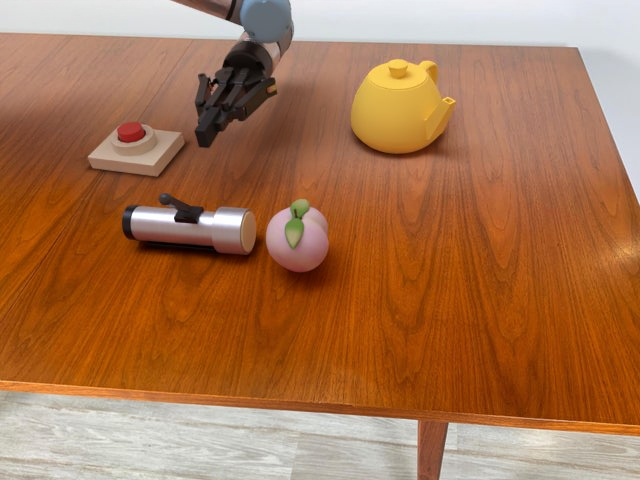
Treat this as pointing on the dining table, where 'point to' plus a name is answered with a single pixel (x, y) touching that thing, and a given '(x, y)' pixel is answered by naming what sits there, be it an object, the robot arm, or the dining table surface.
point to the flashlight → (192, 228)
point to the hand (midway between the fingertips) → (201, 139)
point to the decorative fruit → (298, 237)
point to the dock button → (130, 132)
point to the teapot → (400, 107)
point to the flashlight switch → (174, 203)
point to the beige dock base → (137, 152)
